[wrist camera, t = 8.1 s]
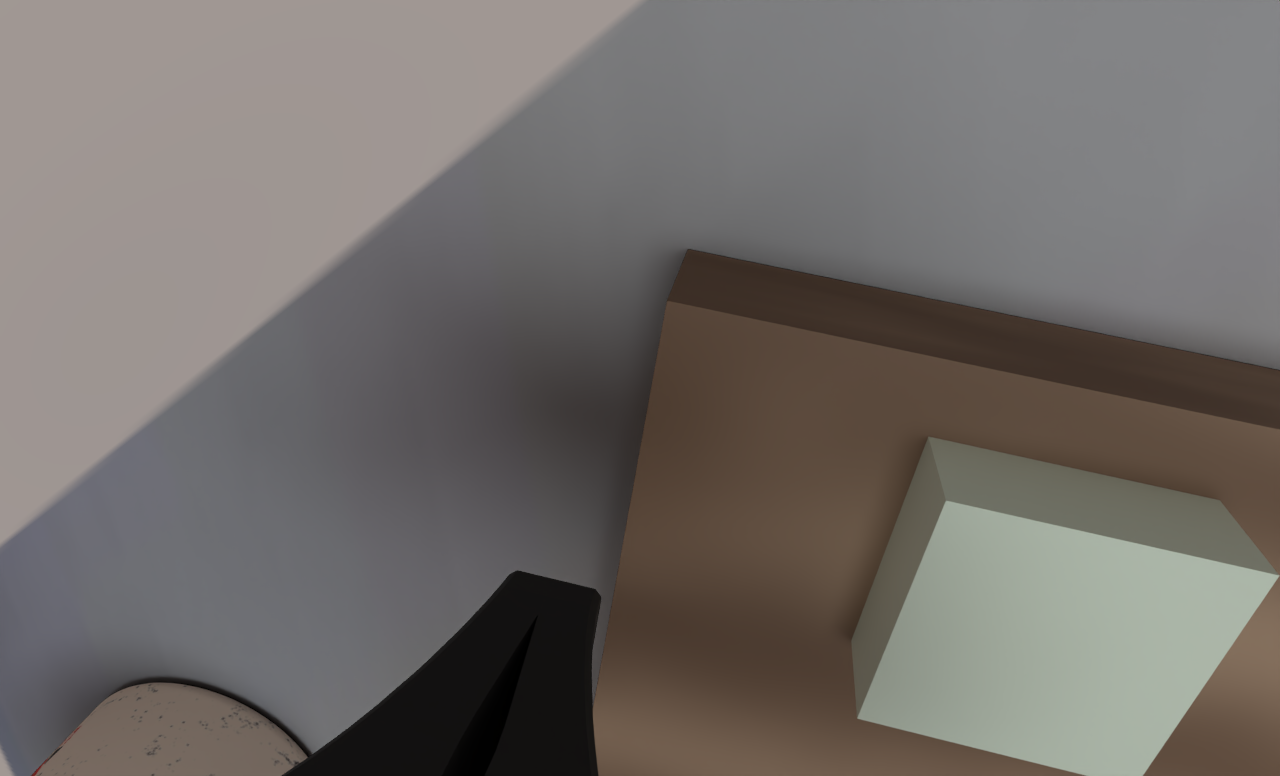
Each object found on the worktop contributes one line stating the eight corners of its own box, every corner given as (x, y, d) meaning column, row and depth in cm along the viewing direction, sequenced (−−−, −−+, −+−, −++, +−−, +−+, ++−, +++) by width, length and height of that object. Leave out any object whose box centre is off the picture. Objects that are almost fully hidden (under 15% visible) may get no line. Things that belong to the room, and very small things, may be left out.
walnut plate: (1105, 892, 23) (1144, 1010, 20) (592, 758, 24) (566, 853, 22) (1458, 406, 16) (1592, 495, 13) (688, 249, 17) (667, 300, 14)
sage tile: (1099, 700, 16) (1134, 787, 15) (851, 640, 17) (857, 718, 15) (1219, 500, 14) (1278, 575, 12) (928, 436, 14) (945, 499, 13)
